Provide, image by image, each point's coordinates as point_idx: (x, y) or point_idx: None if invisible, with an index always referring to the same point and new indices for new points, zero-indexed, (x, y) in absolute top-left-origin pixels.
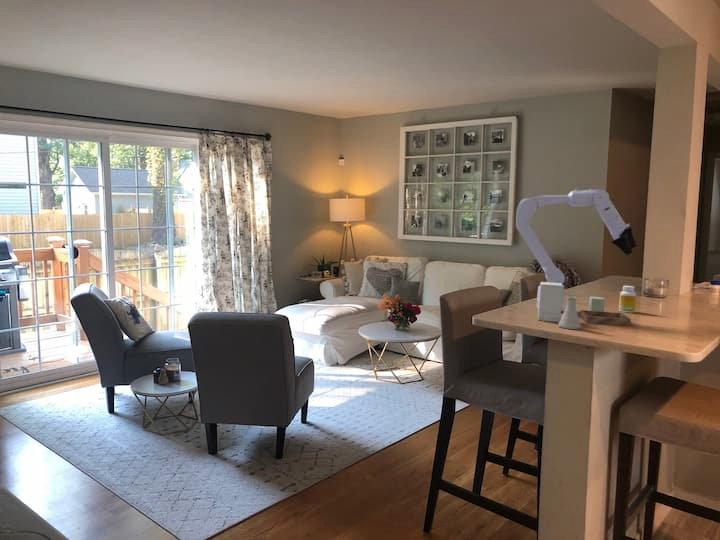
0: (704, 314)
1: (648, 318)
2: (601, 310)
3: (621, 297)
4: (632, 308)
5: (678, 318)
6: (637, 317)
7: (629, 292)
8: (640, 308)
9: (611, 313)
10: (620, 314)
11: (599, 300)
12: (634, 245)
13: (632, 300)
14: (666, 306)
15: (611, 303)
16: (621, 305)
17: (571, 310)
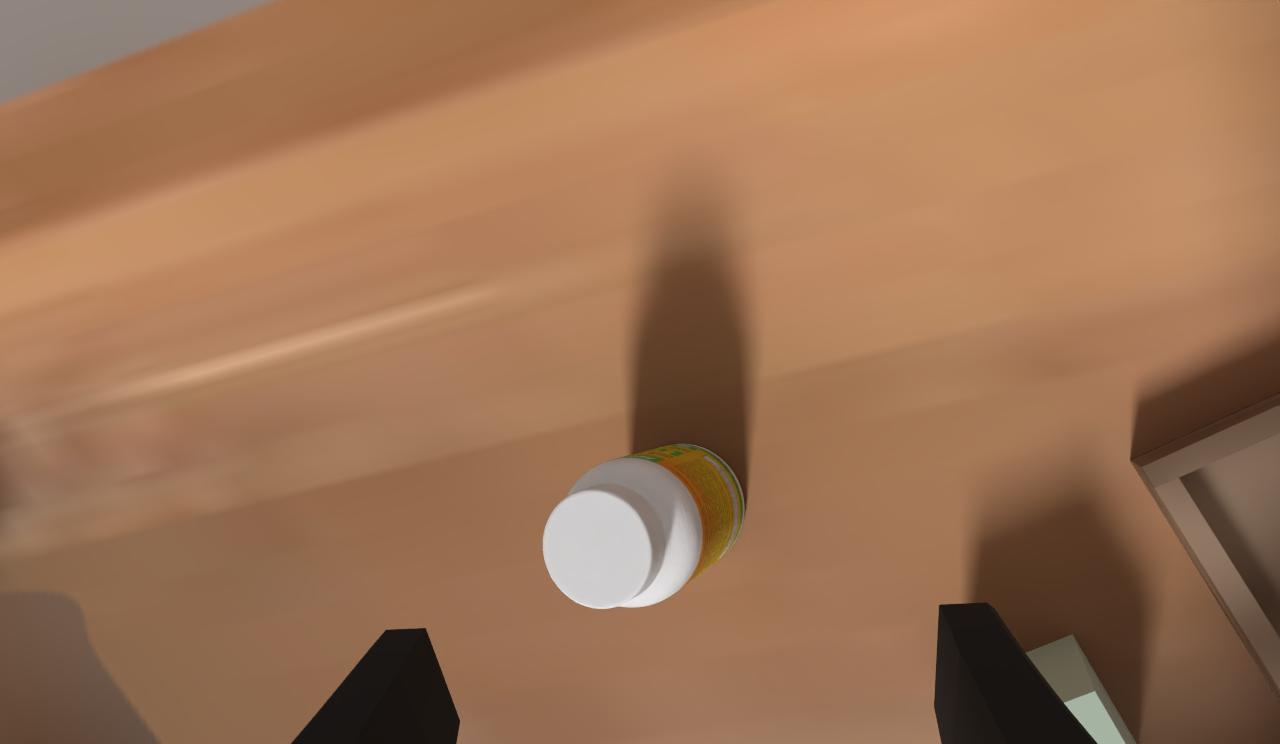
0: (350, 29)
1: (878, 277)
2: (1090, 670)
3: (693, 576)
4: (705, 455)
5: (667, 102)
6: (910, 361)
7: (663, 516)
8: (457, 446)
9: (1222, 548)
10: (1211, 460)
11: (1123, 739)
12: (418, 678)
13: (687, 469)
14: (239, 318)
15: None
16: (721, 551)
17: None
